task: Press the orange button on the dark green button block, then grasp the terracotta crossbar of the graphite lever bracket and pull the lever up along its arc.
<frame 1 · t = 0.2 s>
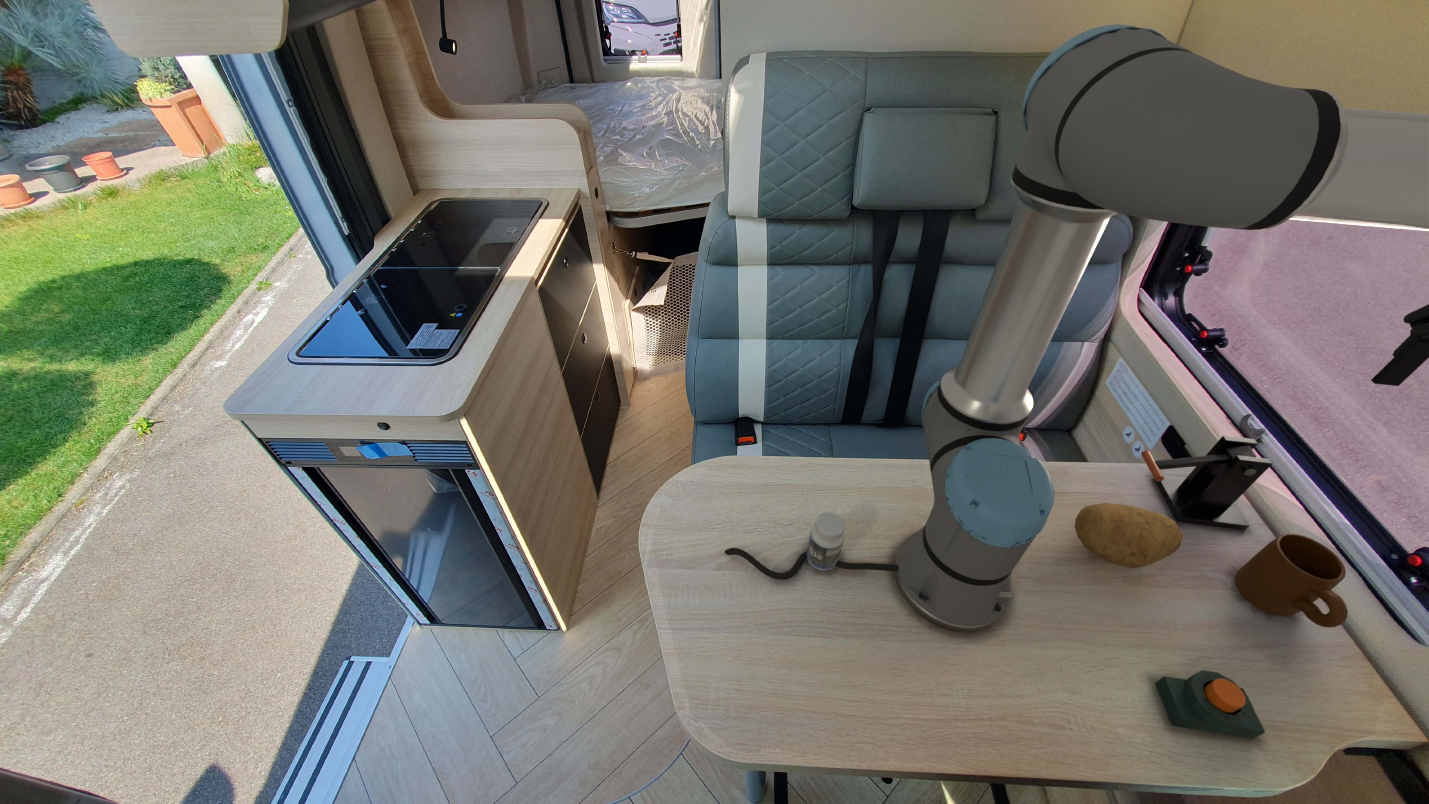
hand: (1424, 420, 68), 28 cm above the table, tool pointing down, fingers open, 13 cm apart
button: (1224, 695, 67), point 4 cm above the table, slide at 0.1 cm
lever: (1198, 461, 88), point 9 cm above the table, hinge at -20.0°
potato: (1111, 551, 87), on the table
mug: (1271, 608, 80), on the table
pill bottle: (821, 558, 85), on the table
bracket: (1197, 503, 93), on the table
button block: (1202, 710, 70), on the table
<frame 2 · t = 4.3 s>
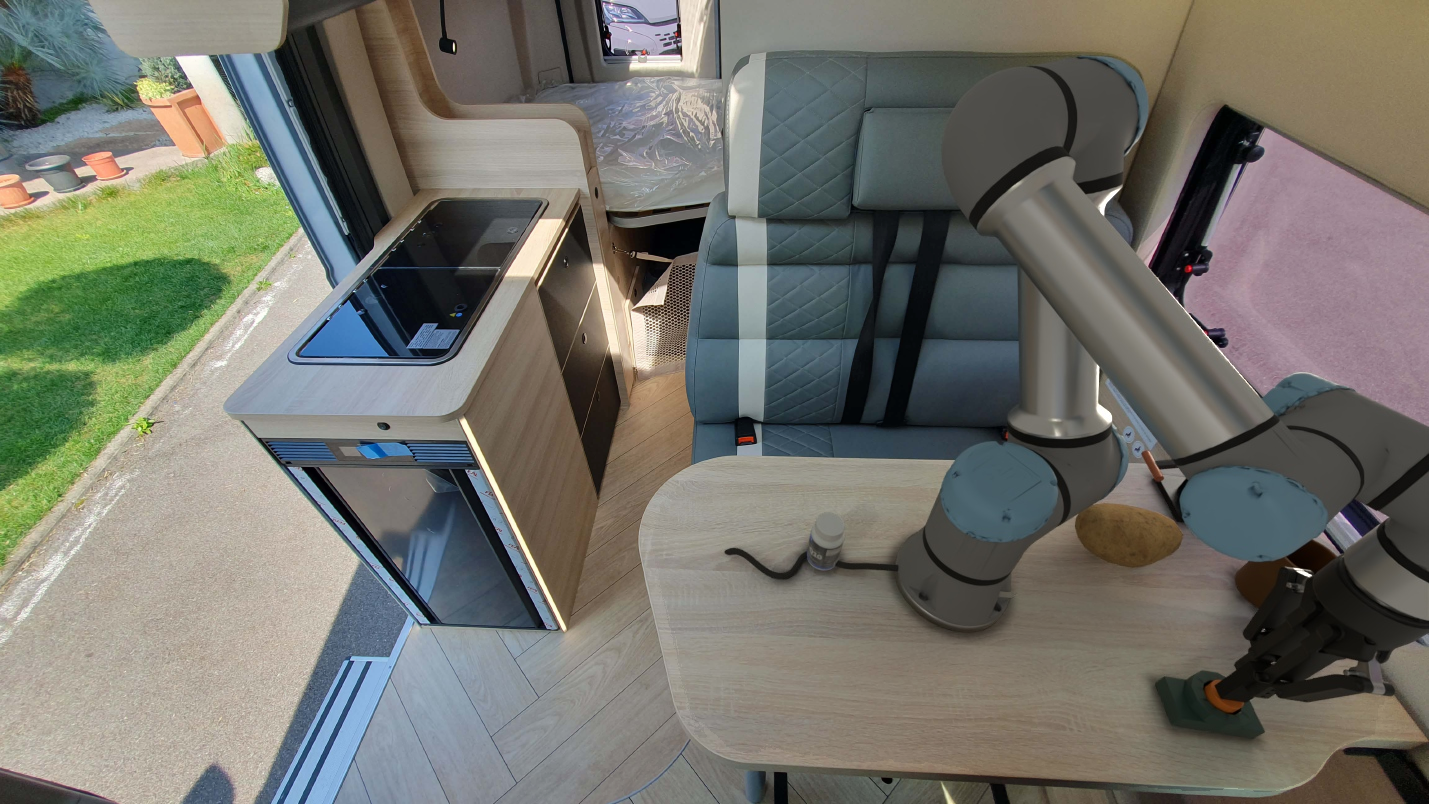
hand: (1230, 693, 66), 5 cm above the table, tool pointing down, fingers closed
button: (1223, 696, 67), point 4 cm above the table, slide at -0.3 cm, touching gripper
everything else where it was.
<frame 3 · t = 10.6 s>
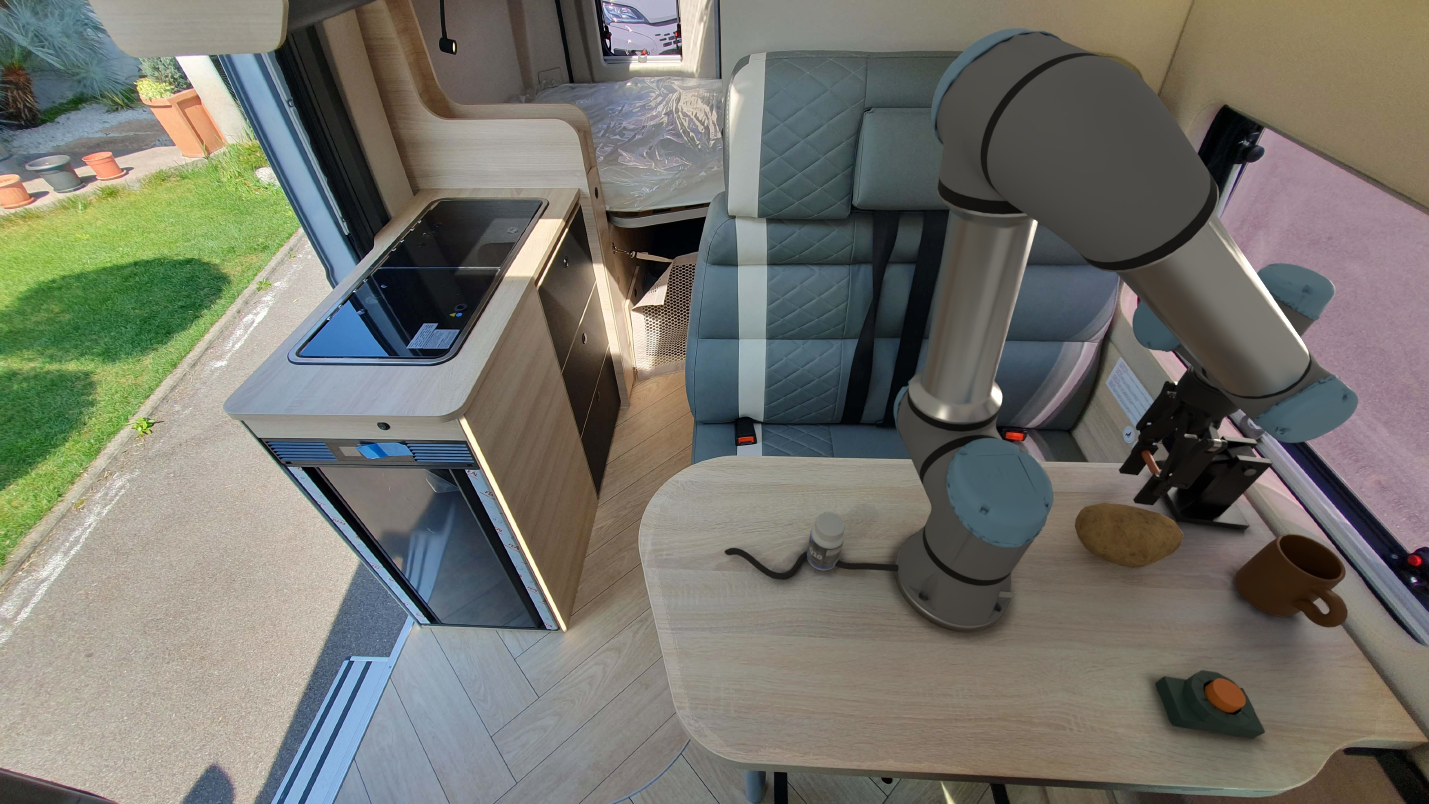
hand: (1135, 487, 93), 2 cm above the table, tool pointing down, fingers closed on lever, 5 cm apart
button: (1224, 695, 67), point 4 cm above the table, slide at 0.1 cm
lever: (1198, 461, 88), point 9 cm above the table, hinge at -20.0°, touching gripper
everything else where it was.
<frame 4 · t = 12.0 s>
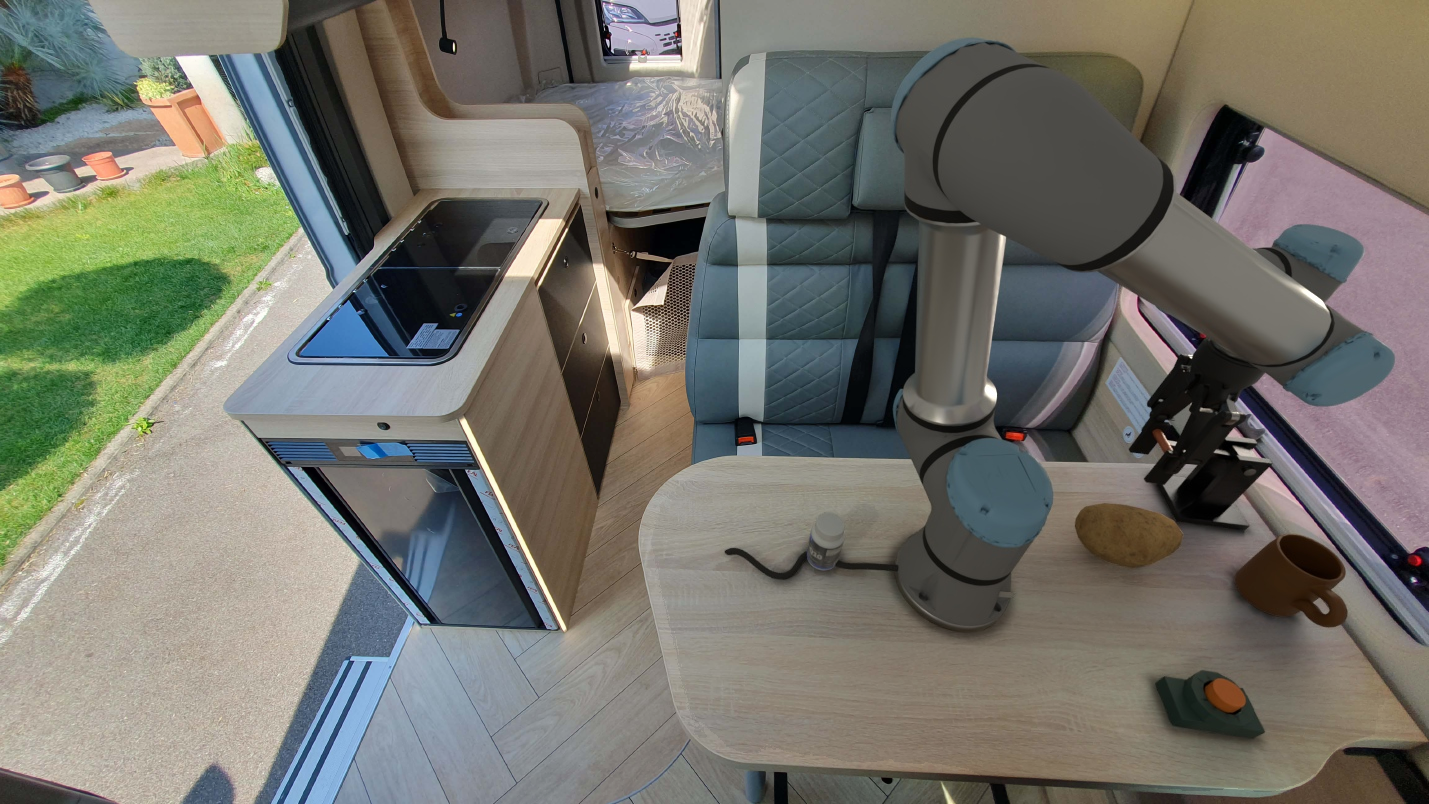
hand: (1146, 466, 90), 7 cm above the table, tool pointing down, fingers closed on lever, 5 cm apart
lever: (1204, 451, 86), point 11 cm above the table, hinge at 4.8°, touching gripper
everything else where it was.
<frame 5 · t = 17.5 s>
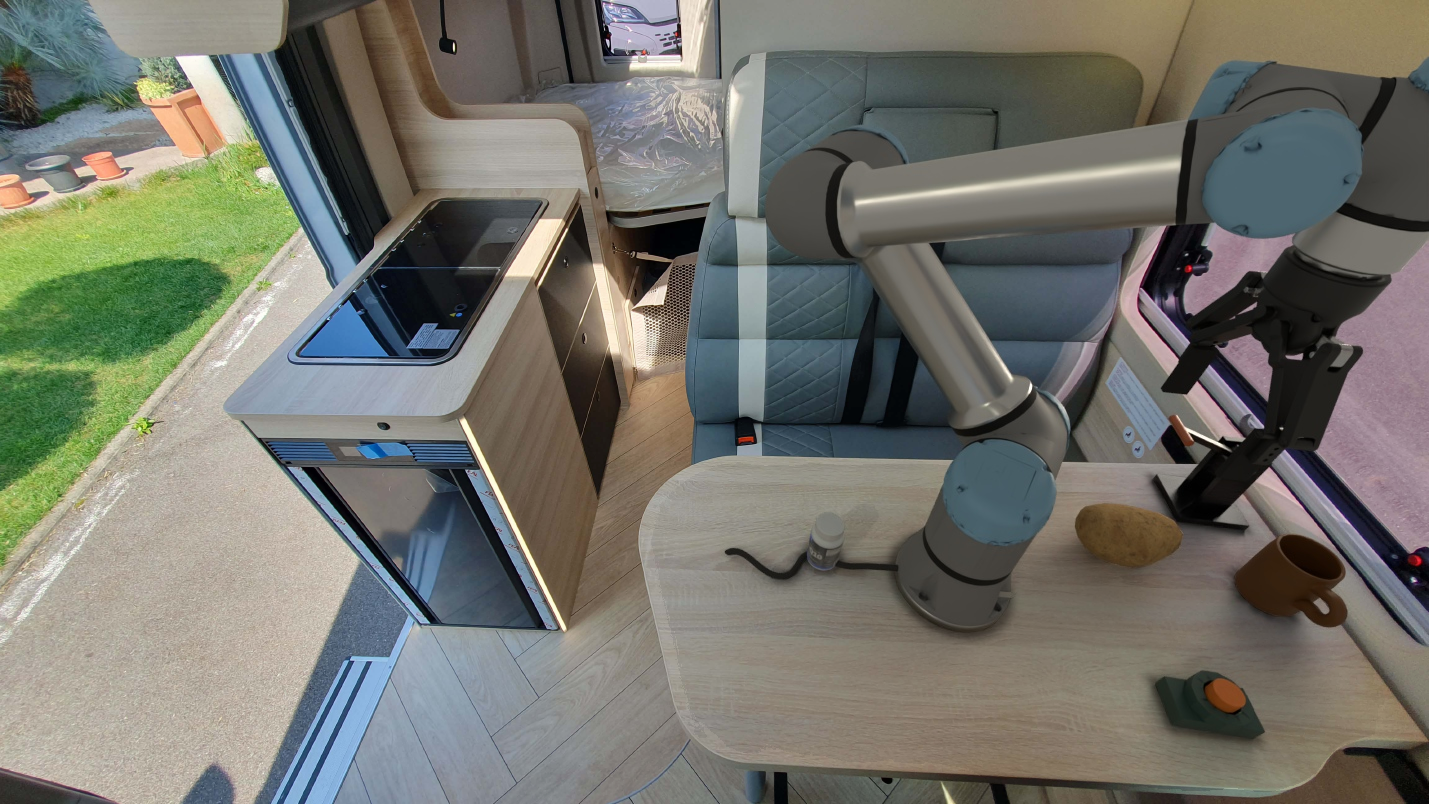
hand: (1199, 431, 65), 29 cm above the table, tool pointing down, fingers open, 13 cm apart
lever: (1212, 445, 85), point 13 cm above the table, hinge at 21.5°
everything else where it was.
at the end: button pushed in 1.0 cm at the most during the clip, back to where it started at the end; button slide at 0.1 cm; lever at +22° (first picture: -20°) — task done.
